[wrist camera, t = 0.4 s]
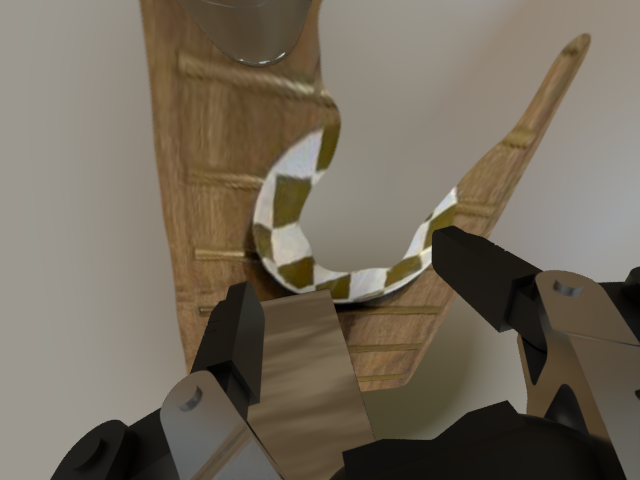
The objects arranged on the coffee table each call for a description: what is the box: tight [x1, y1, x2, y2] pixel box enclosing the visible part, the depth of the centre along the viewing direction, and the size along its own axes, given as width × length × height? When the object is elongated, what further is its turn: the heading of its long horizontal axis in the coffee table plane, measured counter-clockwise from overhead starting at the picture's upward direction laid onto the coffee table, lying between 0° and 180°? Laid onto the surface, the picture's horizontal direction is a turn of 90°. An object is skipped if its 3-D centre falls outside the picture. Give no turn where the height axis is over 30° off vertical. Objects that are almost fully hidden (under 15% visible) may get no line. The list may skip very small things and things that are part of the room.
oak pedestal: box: [247, 289, 375, 480], centre depth 25 cm, size 14×14×32 cm
